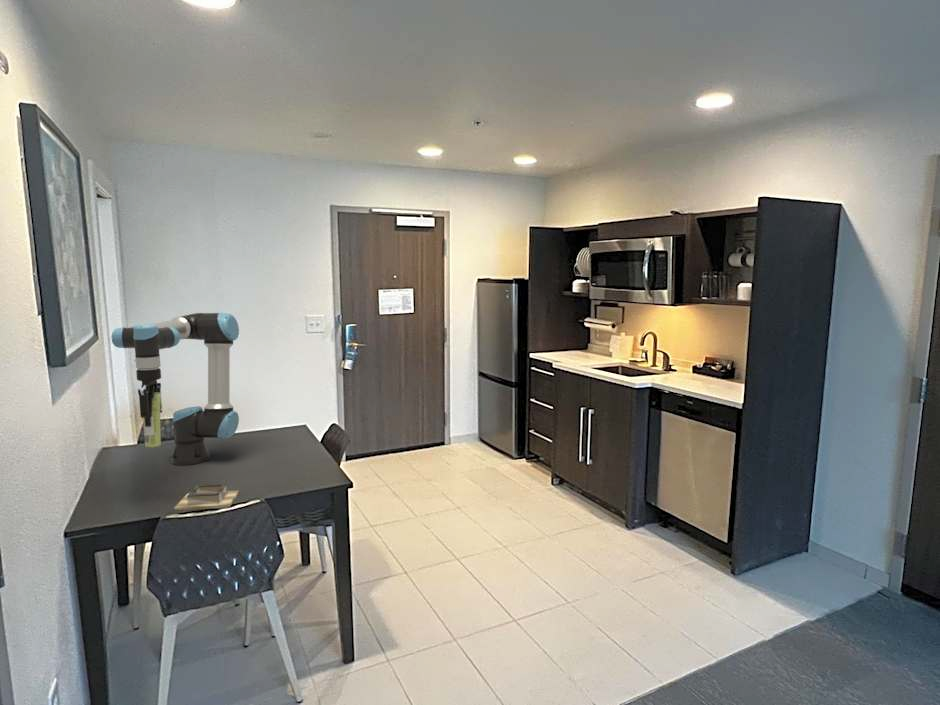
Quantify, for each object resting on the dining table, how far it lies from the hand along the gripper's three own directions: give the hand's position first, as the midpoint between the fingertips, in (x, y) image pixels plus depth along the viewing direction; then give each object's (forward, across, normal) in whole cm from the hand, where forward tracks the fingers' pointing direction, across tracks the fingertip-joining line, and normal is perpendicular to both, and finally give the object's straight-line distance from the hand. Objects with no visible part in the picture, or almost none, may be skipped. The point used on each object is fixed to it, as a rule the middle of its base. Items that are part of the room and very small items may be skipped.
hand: (152, 432), depth 207 cm
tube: (+5, 0, 0) cm, 5 cm away
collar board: (+25, +4, +19) cm, 31 cm away
